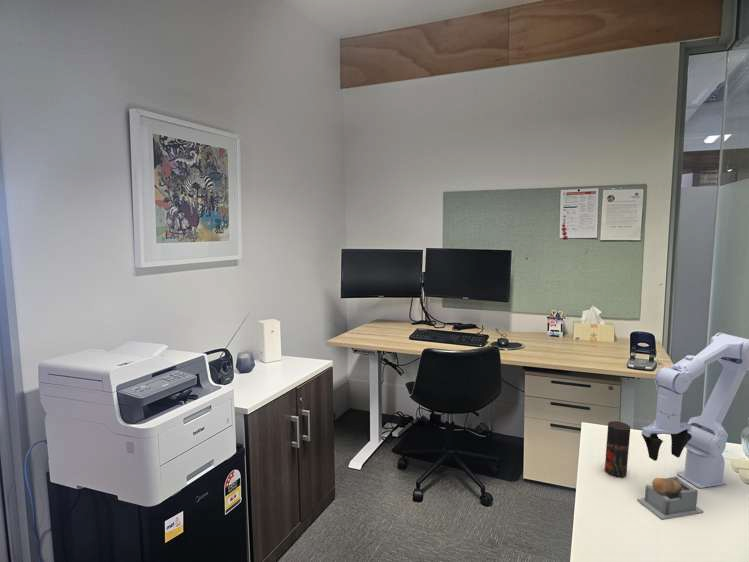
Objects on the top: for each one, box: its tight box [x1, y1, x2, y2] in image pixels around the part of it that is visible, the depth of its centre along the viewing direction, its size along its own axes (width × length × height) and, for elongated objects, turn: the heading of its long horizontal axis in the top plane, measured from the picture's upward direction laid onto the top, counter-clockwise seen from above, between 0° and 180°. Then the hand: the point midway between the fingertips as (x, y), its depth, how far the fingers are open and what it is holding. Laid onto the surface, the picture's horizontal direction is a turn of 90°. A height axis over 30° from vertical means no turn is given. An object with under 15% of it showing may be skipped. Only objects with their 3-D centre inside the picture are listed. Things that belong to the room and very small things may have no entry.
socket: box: [636, 476, 704, 520], centre depth 129 cm, size 13×8×6 cm, turn 103°
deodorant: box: [604, 420, 631, 479], centre depth 145 cm, size 6×6×15 cm
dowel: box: [651, 477, 682, 494], centre depth 128 cm, size 4×4×6 cm
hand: (664, 457), depth 136 cm, fingers open, 7 cm apart
